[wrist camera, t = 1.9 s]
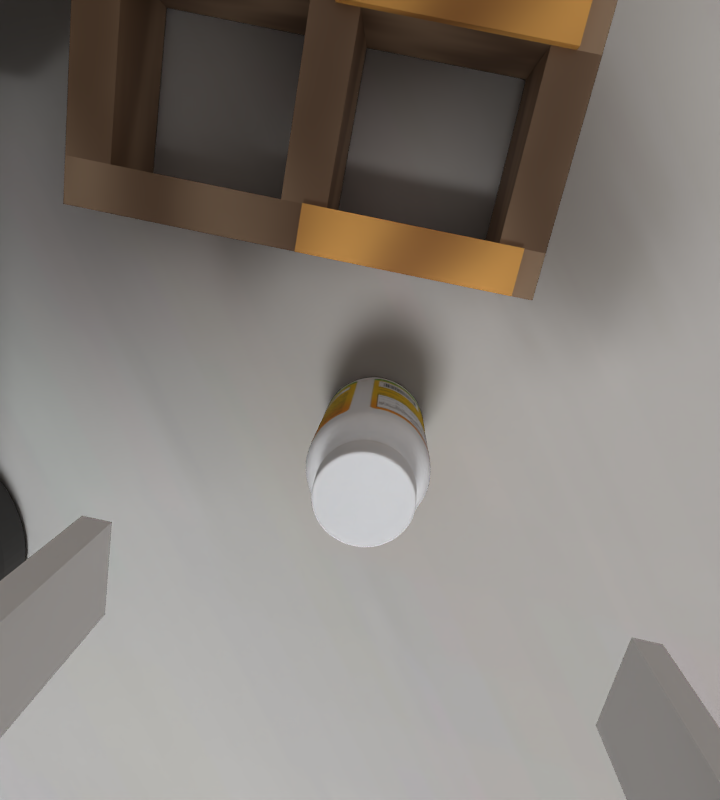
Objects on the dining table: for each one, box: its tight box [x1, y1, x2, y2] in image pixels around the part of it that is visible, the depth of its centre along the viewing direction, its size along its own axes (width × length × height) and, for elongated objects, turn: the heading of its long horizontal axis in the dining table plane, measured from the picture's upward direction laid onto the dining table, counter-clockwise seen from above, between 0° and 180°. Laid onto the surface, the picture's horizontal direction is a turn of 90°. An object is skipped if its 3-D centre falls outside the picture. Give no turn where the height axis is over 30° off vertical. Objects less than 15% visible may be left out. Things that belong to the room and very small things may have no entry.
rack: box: [63, 0, 618, 300], centre depth 23 cm, size 21×12×4 cm, turn 79°
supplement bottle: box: [306, 377, 430, 547], centre depth 24 cm, size 5×5×10 cm
